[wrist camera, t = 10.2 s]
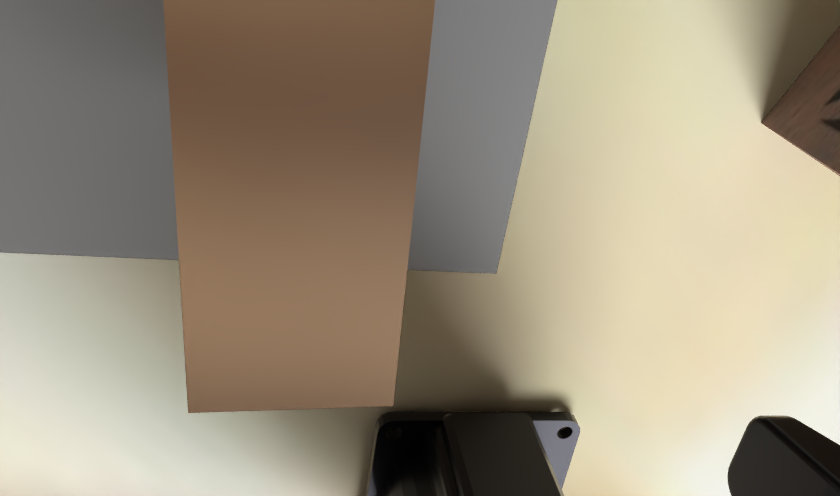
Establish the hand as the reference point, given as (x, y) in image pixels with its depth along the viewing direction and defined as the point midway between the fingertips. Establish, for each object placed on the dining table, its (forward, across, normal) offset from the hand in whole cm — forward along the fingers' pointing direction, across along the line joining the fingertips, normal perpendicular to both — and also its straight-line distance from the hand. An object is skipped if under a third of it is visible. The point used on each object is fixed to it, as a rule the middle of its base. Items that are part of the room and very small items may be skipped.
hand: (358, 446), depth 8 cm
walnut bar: (+6, +1, -9) cm, 11 cm away
